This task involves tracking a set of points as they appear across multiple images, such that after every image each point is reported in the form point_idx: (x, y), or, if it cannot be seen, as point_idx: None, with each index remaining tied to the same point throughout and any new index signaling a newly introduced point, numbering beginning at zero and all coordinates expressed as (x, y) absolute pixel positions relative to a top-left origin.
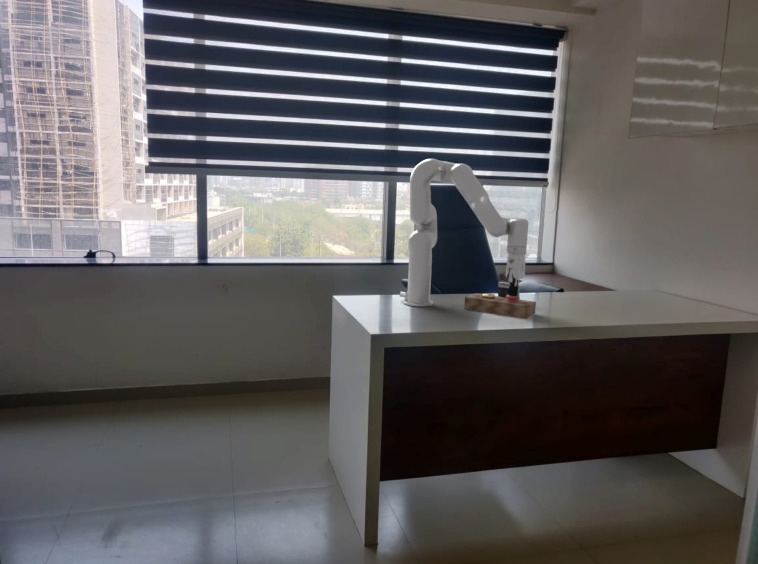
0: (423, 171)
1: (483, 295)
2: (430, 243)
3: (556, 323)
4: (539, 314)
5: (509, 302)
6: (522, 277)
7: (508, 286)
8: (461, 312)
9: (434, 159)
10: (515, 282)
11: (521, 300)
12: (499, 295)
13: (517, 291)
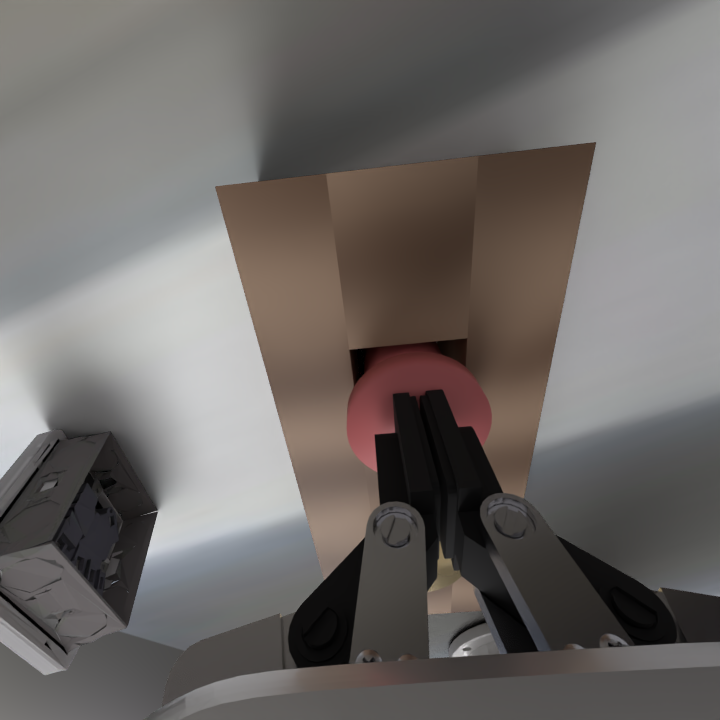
0: None
1: (456, 573)
2: None
3: None
4: (229, 139)
5: (495, 382)
6: (395, 697)
7: (47, 597)
8: (570, 514)
9: None
10: (581, 579)
11: (296, 347)
12: (122, 552)
13: (417, 427)
